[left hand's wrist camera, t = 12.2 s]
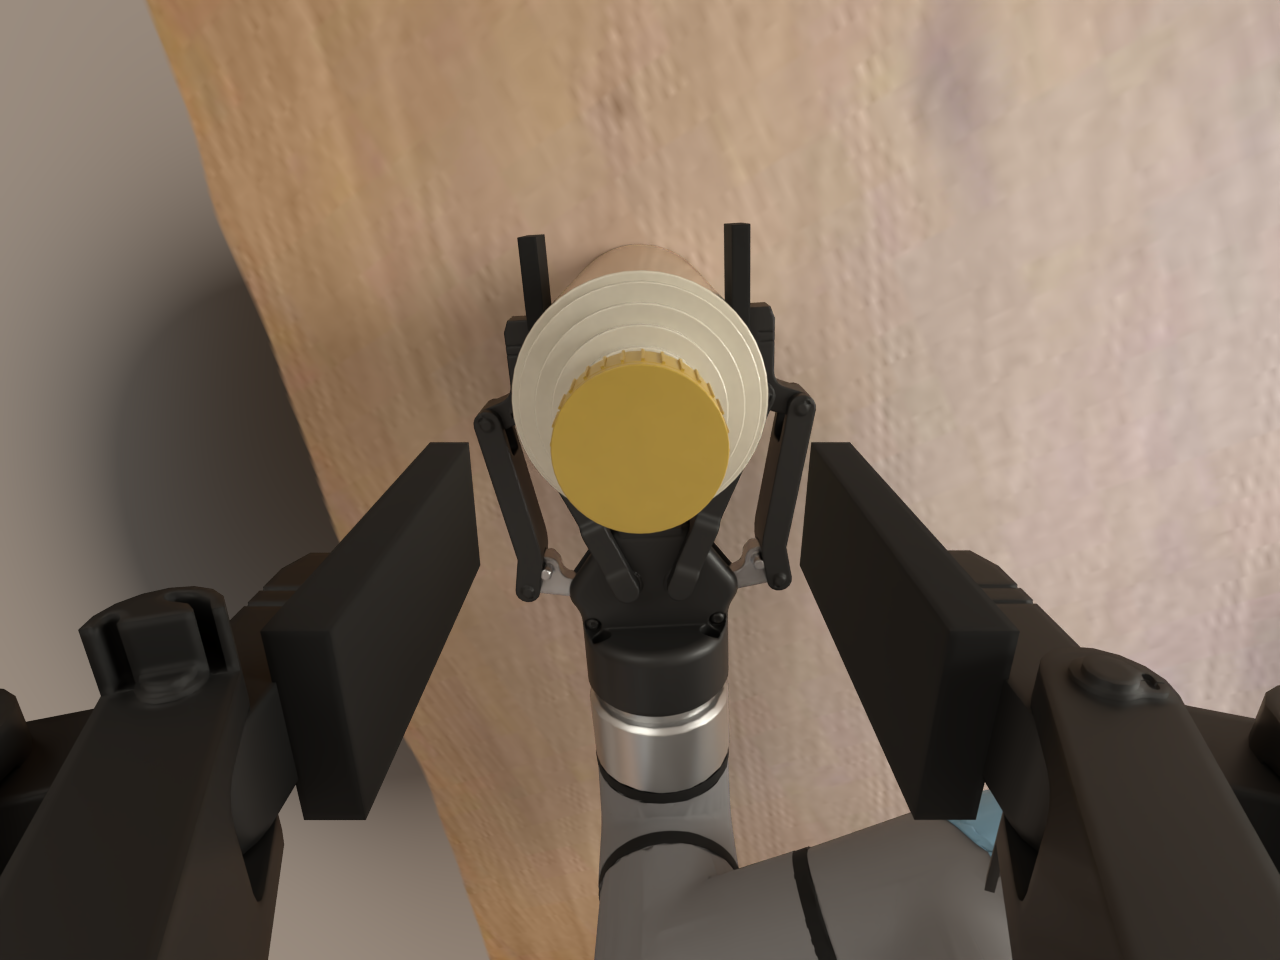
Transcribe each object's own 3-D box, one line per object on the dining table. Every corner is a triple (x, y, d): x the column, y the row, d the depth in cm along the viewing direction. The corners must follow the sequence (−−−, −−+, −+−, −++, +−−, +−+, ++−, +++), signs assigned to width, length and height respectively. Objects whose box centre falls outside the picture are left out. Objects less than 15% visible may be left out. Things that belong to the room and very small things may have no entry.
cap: (707, 518, 20) (713, 546, 18) (548, 497, 19) (540, 523, 18) (738, 361, 18) (748, 376, 16) (565, 336, 18) (557, 349, 16)
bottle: (700, 405, 38) (761, 602, 19) (557, 385, 38) (473, 566, 19) (727, 256, 35) (831, 312, 16) (573, 233, 35) (492, 261, 16)
